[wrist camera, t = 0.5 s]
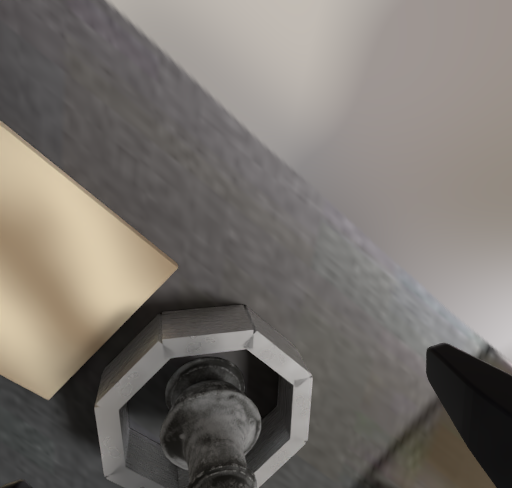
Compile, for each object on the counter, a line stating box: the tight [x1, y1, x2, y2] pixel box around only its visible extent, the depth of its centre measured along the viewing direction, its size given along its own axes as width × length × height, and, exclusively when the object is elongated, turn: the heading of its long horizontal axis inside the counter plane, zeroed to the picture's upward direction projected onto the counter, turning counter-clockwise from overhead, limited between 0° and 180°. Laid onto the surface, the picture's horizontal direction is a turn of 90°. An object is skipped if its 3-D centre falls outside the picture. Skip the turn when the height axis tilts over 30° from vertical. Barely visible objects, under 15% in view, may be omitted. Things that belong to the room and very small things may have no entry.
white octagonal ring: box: [94, 304, 313, 488], centre depth 24 cm, size 12×12×3 cm
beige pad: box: [0, 121, 178, 400], centre depth 20 cm, size 11×11×1 cm
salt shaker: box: [160, 357, 261, 488], centre depth 20 cm, size 6×6×12 cm
